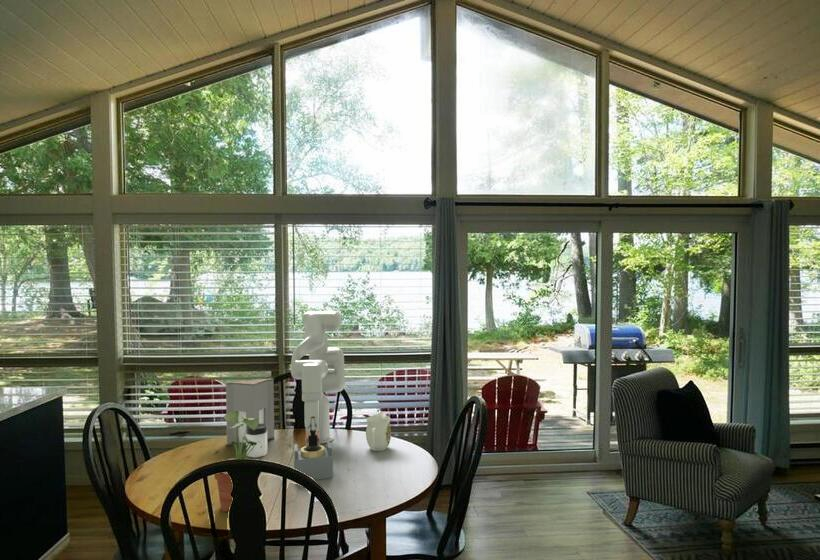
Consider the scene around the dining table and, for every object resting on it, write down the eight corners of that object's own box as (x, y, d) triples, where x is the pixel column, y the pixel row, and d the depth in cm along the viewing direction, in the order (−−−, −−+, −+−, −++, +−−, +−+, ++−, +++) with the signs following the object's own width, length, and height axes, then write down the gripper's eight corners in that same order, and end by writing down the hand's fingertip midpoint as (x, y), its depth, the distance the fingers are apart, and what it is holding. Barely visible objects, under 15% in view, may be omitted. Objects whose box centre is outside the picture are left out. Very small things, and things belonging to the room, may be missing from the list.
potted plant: (263, 511, 165) (262, 402, 165) (213, 518, 161) (211, 406, 161) (263, 492, 180) (261, 392, 180) (216, 498, 176) (215, 396, 176)
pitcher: (360, 455, 216) (359, 423, 216) (371, 442, 234) (371, 412, 234) (385, 457, 214) (385, 424, 214) (395, 443, 232) (394, 412, 232)
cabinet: (273, 437, 242) (272, 378, 242) (277, 443, 234) (276, 382, 234) (226, 444, 234) (225, 382, 234) (228, 450, 225) (227, 386, 225)
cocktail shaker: (305, 447, 198) (305, 413, 198) (319, 446, 199) (318, 412, 199) (306, 452, 193) (305, 416, 193) (320, 451, 194) (319, 415, 194)
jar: (271, 452, 222) (271, 424, 222) (258, 458, 214) (258, 430, 214) (256, 449, 226) (255, 422, 226) (242, 455, 218) (241, 427, 218)
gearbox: (294, 471, 199) (293, 443, 199) (330, 468, 202) (330, 440, 202) (294, 481, 189) (294, 451, 189) (332, 477, 193) (332, 448, 193)
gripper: (301, 391, 203) (301, 437, 203) (302, 401, 187) (303, 451, 187) (320, 390, 205) (321, 436, 205) (323, 400, 188) (324, 449, 188)
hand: (312, 443), depth 196 cm, fingers closed on cocktail shaker, 5 cm apart
